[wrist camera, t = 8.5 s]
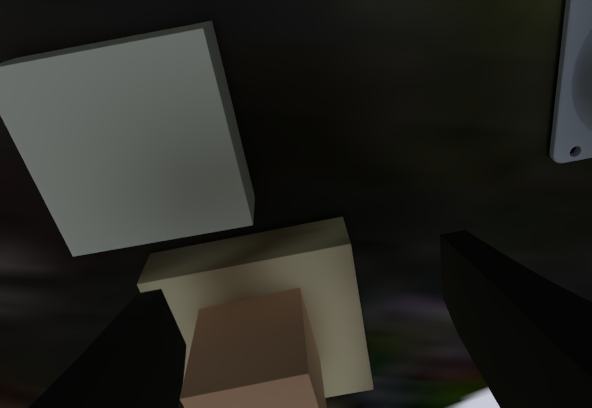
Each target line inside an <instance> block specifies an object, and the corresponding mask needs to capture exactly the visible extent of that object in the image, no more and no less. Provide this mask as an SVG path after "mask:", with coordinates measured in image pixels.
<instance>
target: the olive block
mask: <svg viewBox="0 0 592 408" xmlns="http://www.w3.org/2000/svg"><path fill="white" fill-rule="evenodd" d="M137 286H138V288H139V290H140V292H141V293H142V292H147V291H152V290H157V289H162V291H163V294H164V296H165V298H166V300H167V303H168V305H169V307H170V309H171V311H172V314H173V316H174V318H175V320H176V323H177V325H178V327H179V329H180V332H181V334H182V336H183V338H184V340H185V343H186V345H187V346H186V358H185V369H184V377H185V372H186V368H187V363H188V358H189V354H190V349H191V344H192V339H193V335H194V330H195V325H196V321H197V316H198V311H199V309H202V308H207V307H211V306H216V305H221V304H226V303H230V302H235V301H240V300H245V299H249V298H254V297H259V296H264V295H268V294H273V293H278V292H283V291H288V290H292V289H297V288H300V289H301V292H302V296H303V300H304V303H305V307H306V310H307V314H308V318H309V321H310V325H311V328H312V332H313V336H314V339H315V343H316V346H317V350H318V354H319V357H320V362H321V370H322V378H323V385H324V393H325V398H326V397H332V396H338V395H343V394H349V393H355V392H361V391H366V390H372V389H373V383H372V376H371V370H370V364H369V357H368V351H367V344H366V338H365V332H364V325H363V319H362V312H361V306H360V299H359V293H358V287H357V280H356V274H355V267H354V261H353V254H352V248H351V243H350V239H349V236H348V233H347V229H346V226H345V223H344V219H343V217H337V218H332V219H327V220H322V221H317V222H312V223H306V224H301V225H296V226H291V227H286V228H280V229H275V230H270V231H265V232H260V233H254V234H249V235H244V236H239V237H234V238H228V239H223V240H218V241H213V242H208V243H202V244H197V245H192V246H187V247H182V248H176V249H171V250H166V251H161V252H156V253H150V255H149V257H148V260H147V262H146V264H145V267H144V269H143V271H142V274H141V276H140V278H139V281H138V283H137ZM183 382H184V379H183Z"/></svg>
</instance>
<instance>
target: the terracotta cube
mask: <svg viewBox="0 0 592 408" xmlns="http://www.w3.org/2000/svg"><path fill="white" fill-rule="evenodd" d="M180 400H181V402H182V404H183V406H184V408H326V401H325V393H324V385H323V378H322V370H321V362H320V357H319V354H318V350H317V346H316V343H315V339H314V336H313V332H312V328H311V325H310V321H309V318H308V314H307V310H306V307H305V303H304V300H303V296H302V292H301V289H300V288H297V289H292V290H288V291H283V292H278V293H273V294H268V295H264V296H259V297H254V298H249V299H245V300H240V301H235V302H230V303H226V304H221V305H216V306H211V307H207V308H202V309H199V311H198V316H197V321H196V325H195V330H194V335H193V339H192V344H191V349H190V354H189V358H188V363H187V368H186V372H185V377H184V382H183V386H182V391H181V396H180Z"/></svg>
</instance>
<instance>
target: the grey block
mask: <svg viewBox="0 0 592 408" xmlns="http://www.w3.org/2000/svg"><path fill="white" fill-rule="evenodd" d="M0 115H1V117H2V119H3V121H4V123H5V125H6V127H7V129H8V131H9V133H10V135H11V137H12V139H13V141H14V143H15V145H16V146H17V148H18V150H19V152H20V154H21V156H22V158H23V160H24V162H25V164H26V166H27V168H28V170H29V172H30V174H31V176H32V178H33V180H34V182H35V183H36V185H37V187H38V189H39V191H40V193H41V195H42V197H43V199H44V201H45V203H46V205H47V207H48V209H49V211H50V213H51V215H52V217H53V219H54V220H55V222H56V224H57V226H58V228H59V230H60V232H61V234H62V236H63V238H64V240H65V242H66V244H67V246H68V248H69V250H70V252H71V254H72V256H79V255H85V254H90V253H96V252H102V251H108V250H113V249H119V248H125V247H131V246H136V245H142V244H148V243H154V242H159V241H165V240H171V239H176V238H182V237H188V236H194V235H199V234H205V233H211V232H217V231H222V230H228V229H234V228H239V227H245V226H251V225H253V218H254V202H255V196H254V192H253V188H252V184H251V179H250V175H249V171H248V167H247V163H246V159H245V155H244V151H243V147H242V142H241V138H240V134H239V130H238V126H237V122H236V118H235V114H234V110H233V105H232V101H231V97H230V93H229V89H228V85H227V81H226V77H225V73H224V68H223V64H222V60H221V56H220V52H219V48H218V44H217V40H216V36H215V31H214V27H213V23H212V21H208V22H203V23H198V24H193V25H187V26H182V27H177V28H171V29H166V30H161V31H156V32H150V33H145V34H140V35H135V36H129V37H124V38H119V39H114V40H108V41H103V42H98V43H92V44H87V45H82V46H77V47H71V48H66V49H61V50H56V51H50V52H45V53H40V54H35V55H29V56H24V57H19V58H15V59H12V60H9V61H6V62H3V63H0Z"/></svg>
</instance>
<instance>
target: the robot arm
mask: <svg viewBox="0 0 592 408" xmlns="http://www.w3.org/2000/svg"><path fill="white" fill-rule="evenodd" d="M573 147H576V149H575V151H574V152H573V153H570V151H571V149H572V148H573ZM550 157H551V159H552V160H554V161H555V162H558V163H566V162H571V161H576V160H582V159H587V158H592V0H566V4H565V14H564V23H563V32H562V41H561V51H560V60H559V69H558V79H557V88H556V97H555V106H554V116H553V125H552V134H551V143H550ZM440 244H441V266H442V289H443V299H444V301H445V304H446V306H447V309H448V311H449V314H450V316H451V319H452V321H453V323H454V326H455V328H456V330H457V333H458V334H459V336H460V338H461V340H462V342H463V343H464V345H465V347H466V349H467V350H468V352H469V354H470V356H471V358H472V359H473V361H474V363H475V365H476V366H477V368H478V370H479V372H480V373H481V375H482V377H483V378H484V380H485V382H486V384H487V385H488V387H489V389H490V391H491V392H492V394H493V396H494V397H495V399H496V401H497V403H498V404H499V406H500V408H592V302H590V301H588V300H586V299H584V298H582V297H580V296H578V295H576V294H574V293H572V292H570V291H568V290H566V289H564V288H562V287H560V286H558V285H557V284H555V283H553V282H551V281H549V280H547V279H545V278H544V277H542V276H540V275H538V274H536V273H535V272H533V271H531V270H529V269H528V268H526V267H524V266H523V265H521V264H519V263H517V262H516V261H514V260H512V259H511V258H509V257H507V256H506V255H504V254H503V253H501V252H499V251H498V250H496V249H495V248H493V247H491V246H490V245H488V244H487V243H485V242H483V241H482V240H480V239H479V238H477V237H475V236H474V235H472V234H470V233H469V232H467V231H465V230H463V231H457V232H452V233H447V234H442V235H440ZM186 346H187V345H186V343H185V340H184V338H183V336H182V334H181V332H180V329H179V327H178V325H177V323H176V320H175V318H174V316H173V314H172V311H171V309H170V307H169V305H168V303H167V300H166V298H165V296H164V294H163V291H162V289H157V290H152V291H147V292H142V293H138V294H137V295H136V296H135V297H134V298H133V299H132V300H131V301H130V302H129V303H128V304H127V305H126V306H125V307H124V309H123V310H122V311H121V312H120V313H119V314H118V315H117V316H116V317H115V318H114V320H113V321H112V322H111V323H110V324H109V325H108V326H107V327H106V328H105V330H104V331H103V332H102V333H101V334H100V335H99V336H98V337H97V338H96V339H95V340H94V342H93V343H92V344H91V345H90V346H89V347H88V348H87V349H86V350H85V351H84V353H83V354H82V355H81V356H80V357H79V358H78V359H77V360H76V361H75V362H74V363H73V364H72V365H71V366H70V367H69V368H68V369H67V370H66V371H65V372H64V373H63V374H62V375H61V376H60V377H59V378H58V379H57V380H56V381H55V382H54V383H53V384H52V385H51V386H50V387H49V388H48V389H47V390H46V391H45V392H44V393H43V394H42V395H41V396H40V397H39V398H38V399H37V400H36V401H35V402H34V403H33V404H31V405H30V406H29V407H28V408H178V404H179V399H180V395H181V390H182V385H183V379H184V369H185V358H186Z"/></svg>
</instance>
